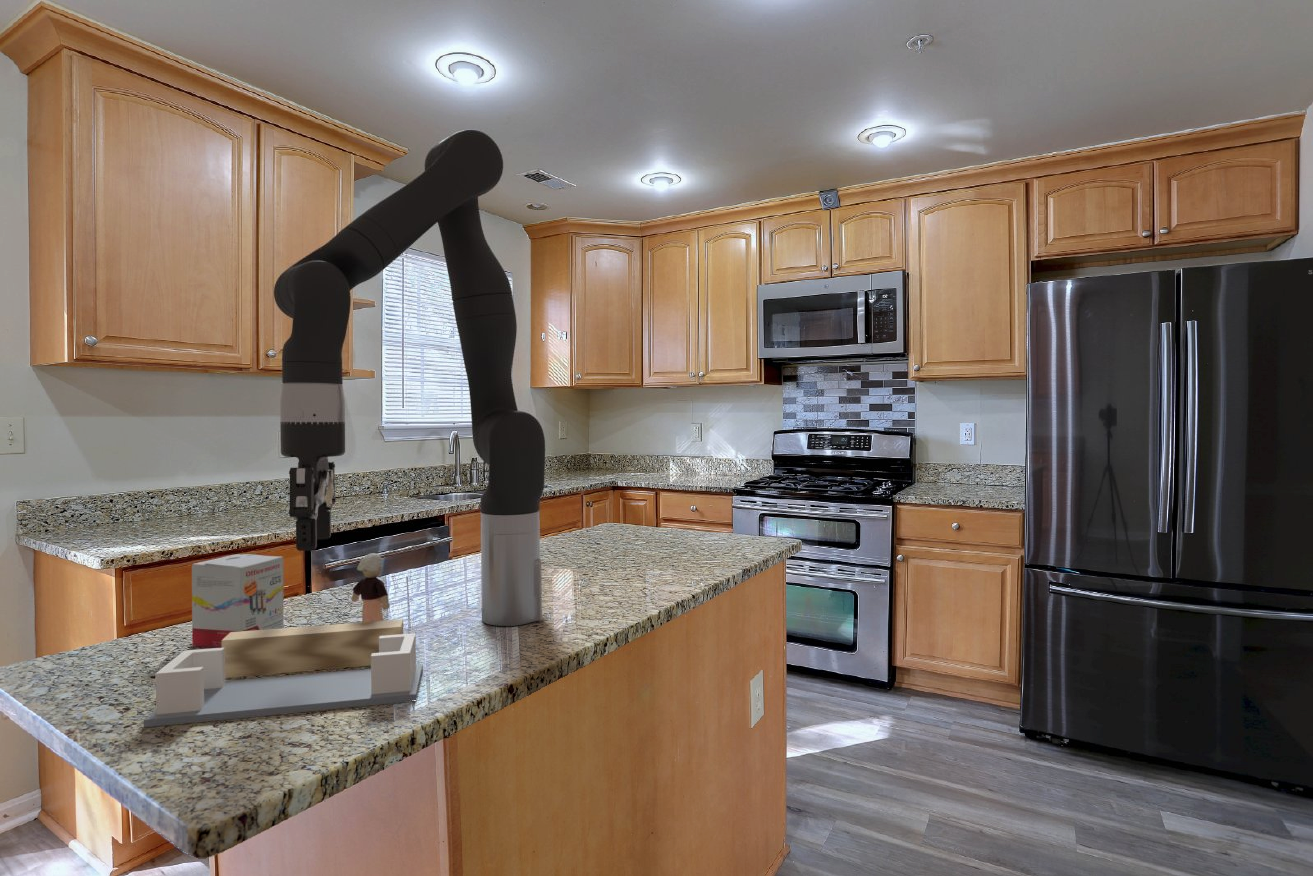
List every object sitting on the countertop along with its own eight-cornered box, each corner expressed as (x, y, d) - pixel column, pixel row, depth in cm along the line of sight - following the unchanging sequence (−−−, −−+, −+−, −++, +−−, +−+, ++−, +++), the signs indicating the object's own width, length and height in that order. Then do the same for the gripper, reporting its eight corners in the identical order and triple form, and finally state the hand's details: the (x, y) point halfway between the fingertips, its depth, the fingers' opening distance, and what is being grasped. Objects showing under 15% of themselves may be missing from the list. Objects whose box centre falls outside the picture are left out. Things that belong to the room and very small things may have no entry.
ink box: (242, 650, 98) (240, 565, 97) (190, 646, 100) (188, 563, 99) (286, 631, 106) (285, 553, 106) (237, 628, 108) (236, 551, 108)
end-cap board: (422, 670, 90) (422, 630, 90) (415, 701, 80) (415, 655, 80) (182, 691, 83) (181, 647, 83) (143, 727, 73) (142, 678, 73)
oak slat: (403, 655, 96) (403, 619, 96) (401, 664, 93) (400, 626, 93) (231, 670, 91) (230, 632, 90) (222, 680, 87) (221, 640, 87)
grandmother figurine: (403, 639, 102) (402, 552, 102) (385, 647, 99) (383, 557, 98) (360, 634, 105) (359, 549, 104) (341, 641, 101) (339, 554, 101)
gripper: (333, 419, 85) (334, 553, 85) (354, 419, 99) (355, 534, 99) (264, 419, 83) (266, 556, 83) (295, 419, 97) (296, 536, 97)
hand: (314, 544), depth 91 cm, fingers open, 8 cm apart
